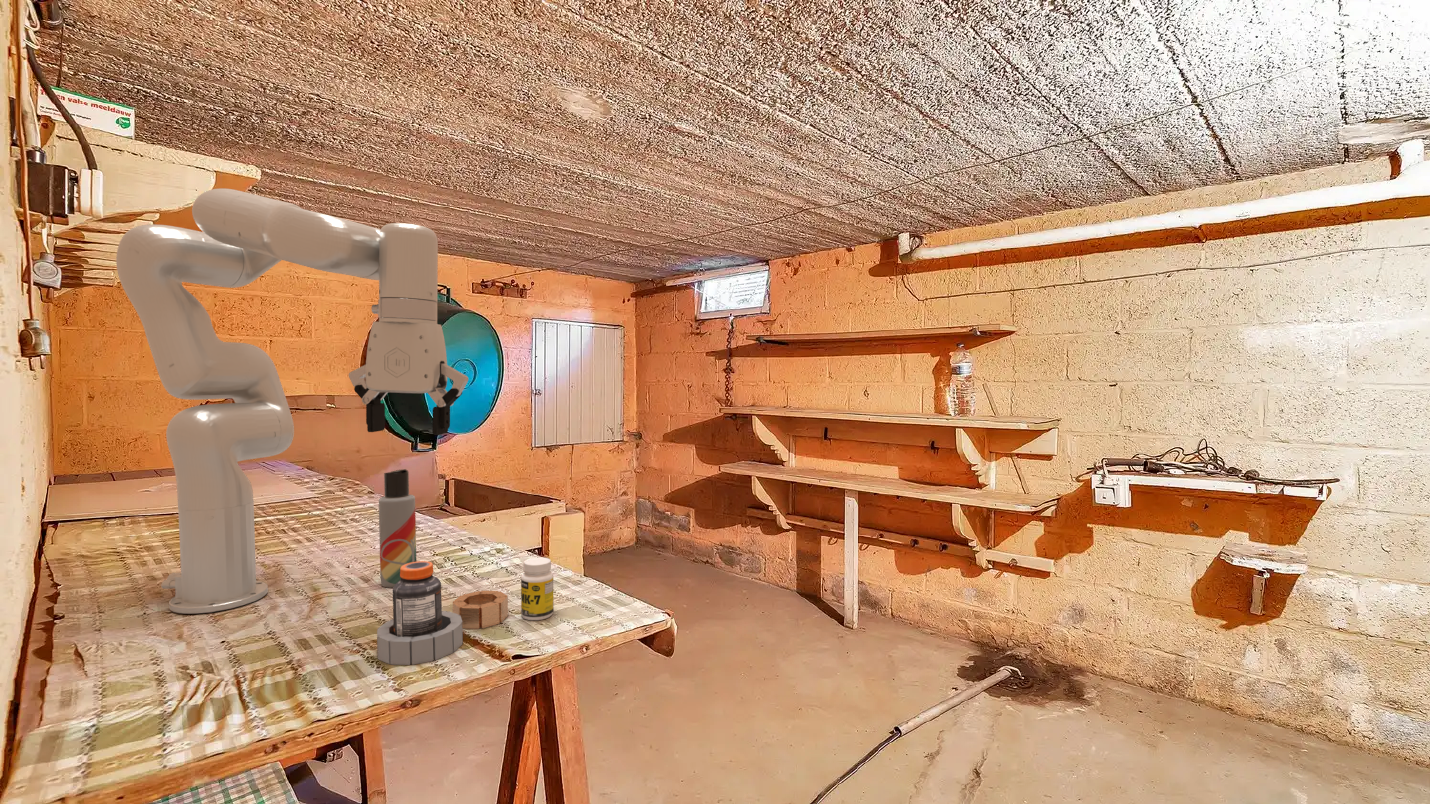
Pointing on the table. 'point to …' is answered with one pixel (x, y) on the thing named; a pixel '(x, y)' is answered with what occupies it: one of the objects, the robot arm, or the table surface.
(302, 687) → the table surface
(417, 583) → the pill bottle
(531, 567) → the supplement bottle
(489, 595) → the wooden ring
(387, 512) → the lotion bottle
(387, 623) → the grey segmented ring
